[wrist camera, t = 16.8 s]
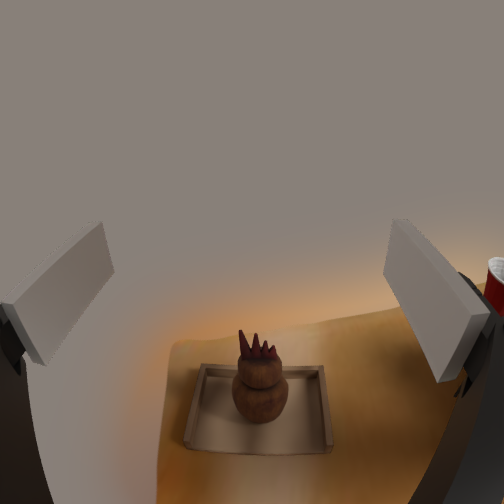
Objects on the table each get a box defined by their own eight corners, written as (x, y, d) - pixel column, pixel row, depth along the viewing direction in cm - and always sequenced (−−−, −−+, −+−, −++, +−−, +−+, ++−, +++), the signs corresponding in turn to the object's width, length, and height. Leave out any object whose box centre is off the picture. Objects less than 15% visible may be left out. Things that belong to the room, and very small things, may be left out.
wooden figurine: (227, 418, 35) (214, 339, 28) (246, 388, 39) (240, 306, 32) (276, 435, 32) (281, 359, 25) (291, 402, 37) (300, 320, 30)
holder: (321, 376, 41) (323, 365, 40) (329, 453, 30) (333, 445, 28) (203, 374, 42) (201, 363, 41) (186, 449, 31) (182, 440, 30)
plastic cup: (483, 338, 43) (506, 286, 37) (462, 305, 52) (479, 256, 47) (516, 332, 42) (539, 284, 36) (495, 303, 51) (512, 257, 46)
